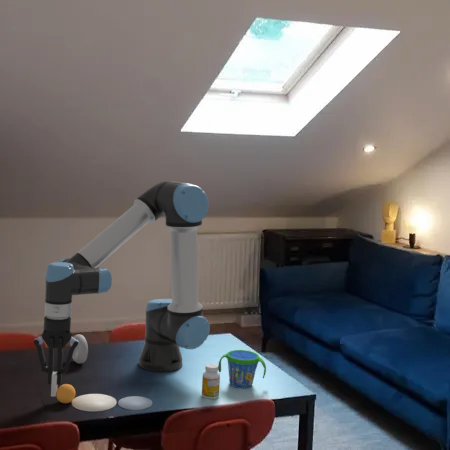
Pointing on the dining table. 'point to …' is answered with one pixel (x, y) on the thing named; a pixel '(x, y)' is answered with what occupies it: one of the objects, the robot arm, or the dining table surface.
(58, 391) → the ball
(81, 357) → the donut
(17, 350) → the dining table surface
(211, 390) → the supplement bottle
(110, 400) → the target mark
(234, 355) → the snack cup
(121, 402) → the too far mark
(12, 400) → the dining table surface
